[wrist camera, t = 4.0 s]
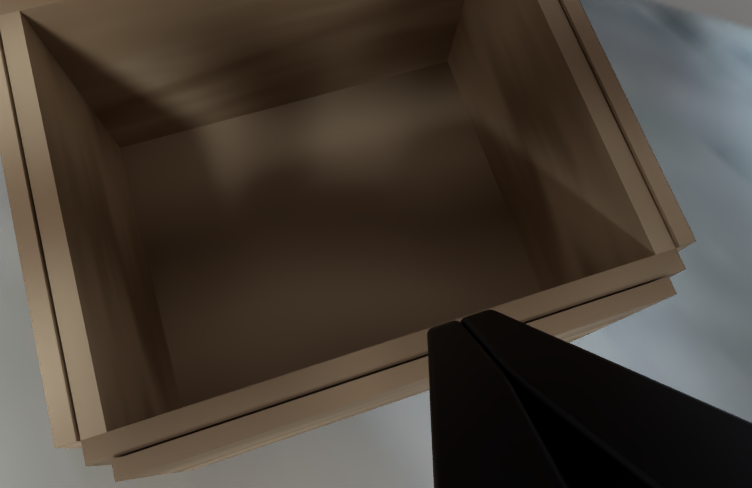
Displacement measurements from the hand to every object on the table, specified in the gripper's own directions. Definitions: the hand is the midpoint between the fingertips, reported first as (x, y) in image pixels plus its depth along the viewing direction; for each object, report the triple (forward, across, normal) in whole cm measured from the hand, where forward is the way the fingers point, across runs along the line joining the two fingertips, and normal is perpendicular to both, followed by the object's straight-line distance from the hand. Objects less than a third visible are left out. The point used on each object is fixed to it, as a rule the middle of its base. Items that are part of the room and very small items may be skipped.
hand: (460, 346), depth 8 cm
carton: (+14, 0, +5) cm, 15 cm away
